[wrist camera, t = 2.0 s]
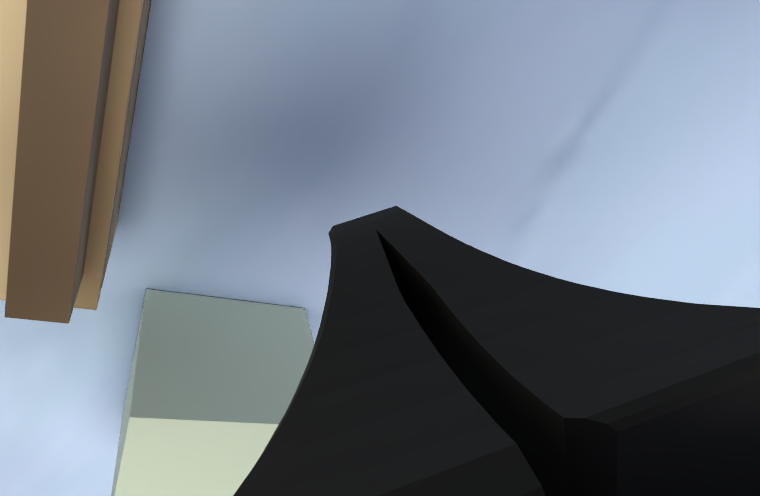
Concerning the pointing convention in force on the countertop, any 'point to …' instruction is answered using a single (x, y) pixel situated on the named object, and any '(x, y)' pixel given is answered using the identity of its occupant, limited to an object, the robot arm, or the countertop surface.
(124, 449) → the grey-green cube
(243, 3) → the countertop surface
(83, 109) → the lid
